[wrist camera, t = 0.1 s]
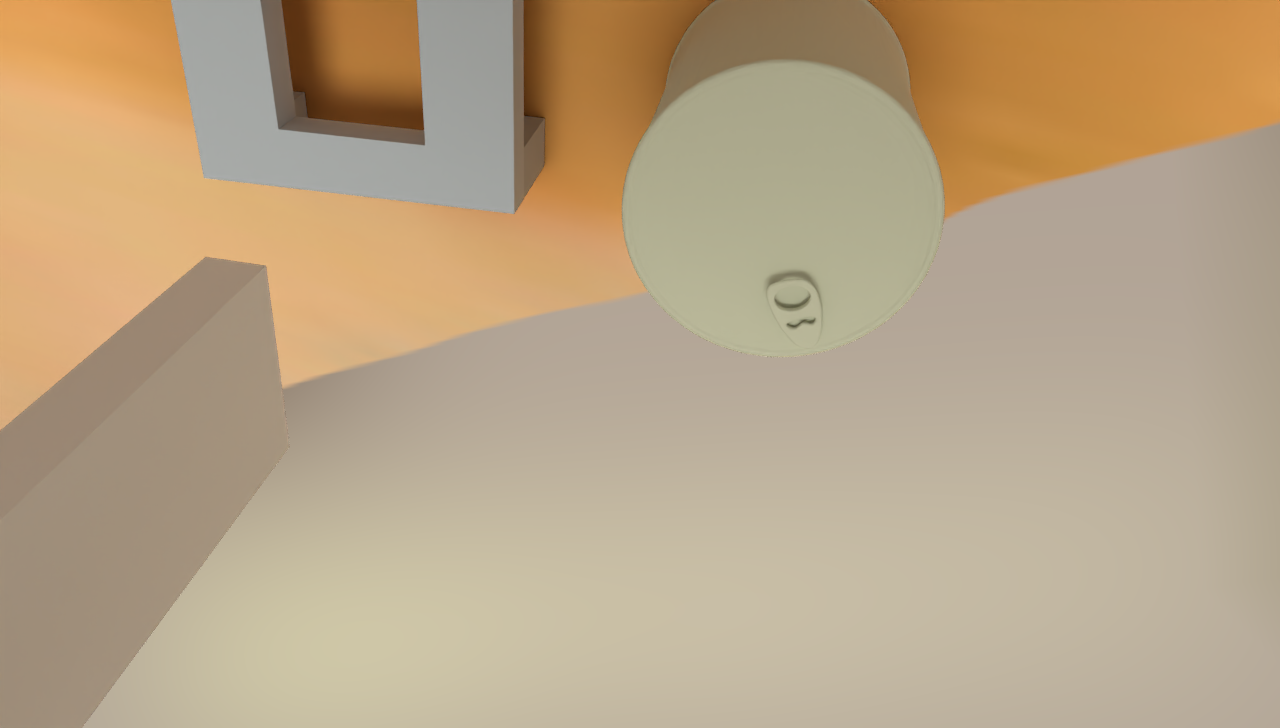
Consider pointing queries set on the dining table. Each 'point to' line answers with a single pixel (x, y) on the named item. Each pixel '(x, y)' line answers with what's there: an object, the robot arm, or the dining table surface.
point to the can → (784, 179)
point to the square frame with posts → (362, 153)
